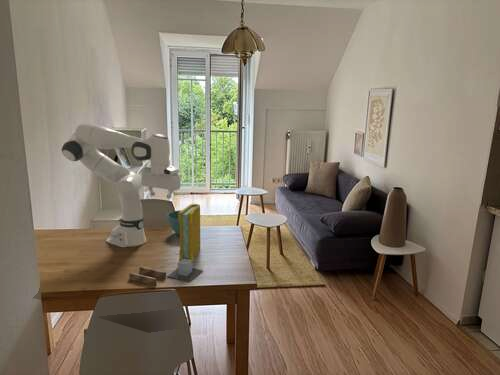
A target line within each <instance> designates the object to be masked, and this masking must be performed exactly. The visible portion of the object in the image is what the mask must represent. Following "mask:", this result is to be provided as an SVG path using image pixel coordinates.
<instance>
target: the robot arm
mask: <svg viewBox="0 0 500 375" xmlns="http://www.w3.org/2000/svg"><path fill="white" fill-rule="evenodd" d="M170 147H171V146H170V140H169V138H168V136H166V135H164V134H161V133H153V134H151V135H149V136H148V137H146V138H142V137H138V136H134V135H131V134H126V133H124V132H120V131H118V130H114V129H112V128H109V127H105V126H102V125H100V124H96V123H90V122H88V123H87V122H86V123H85V122H83V123H80V124H78V125H77V127H76V128H75V132H74V133H73V134H72V135H71V136H70V138H68V139H67V141H66V142H64V144H63V145H62V147H61V152H62V154H63V156H64V157H65V158H66V159H68V160H70V161H72V162H78V161H80V163H81V164H82V165H84V166H85V167H86V168H87V169H88V170H89V171H91V172H92V173H94V174H96V175H97V176H99V177H100V178H102V179H103V180H105V181H106V182H110V183H113V184H115V185H116V192H117V195H118V198H119V202H120V208H121V217H120V218H119V219H118V221H117V222H119V224H118V225H116V226H115V227H114V228H113V229H111V232H110V236H109V237H108V238H107V239H106V241H105V242H106V243H109V244H111V245H114V246H117V247H120V248H127V247H138V246H141V245H144V244H145V243H147V237H146V234H145V230H144V225H145V223H144V216H143V204H142V201H141V196H140V190H141V188H143V187H147V189H148V191H149V194H150V195H149V196H150V197H155V195H156V192H155V191H154V190H153V189H154V188H156V189H161V190H162V189H163V190H168V194H166V198H167V199H169V200H170V199H171V198H172V195H173V193H174V191H179V190H181V185H182V184H181V176H180V174H179V173H180V169H179V168H177V167H176V166H173V164H170V163H171V162H170V154H171V153H170V152H171V151H170V149H171V148H170ZM122 148H124V149H125V148H126V149H127V148H129V149H131V150H130V151H131V154H132V157H133V159H135V160H137V161H139V162H143V161H148V160H149V161H150V166H149V167H147V166H144V167H143V168H142V170H141V174H140V173H138V172H135V171H133V170H131V169H129V168H127V167H125V166H124V165H121V164H119V163H118V162H116V161H115V160H113V159H111V158H110V157H109V156H107V155H105V154H104V153H102V152H101V151H99V150H113V149H122ZM98 149H99V150H98Z"/></svg>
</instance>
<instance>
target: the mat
mask: <svg viewBox="0 0 500 375" xmlns="http://www.w3.org/2000/svg"><path fill="white" fill-rule="evenodd" d="M203 272H204V270H202V269H198V268H193V267H192V272H191V273H190V274H189V275H188V276H183V275H178V268H176V269H175V270H173V271H172V272H171V273H169V274H168V275H166V278H170V279H175V280H178V281H183V282H187V283H191V282H192V281H193V280H195V279H196V278H197V277H198V276H199V275H201V274H202V273H203Z"/></svg>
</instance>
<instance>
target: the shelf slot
mask: <svg viewBox="0 0 500 375" xmlns="http://www.w3.org/2000/svg"><path fill="white" fill-rule="evenodd" d="M138 268H139V274H138V273H135V272H129V273H128V275H129V276H128V277H129V280H132V281H135V282H139V283H143V284H147V285H151V286H155V287H156V286H157V285H158V284H157V278H160V279H164V280H165V279H166V278H167V271H163V270H158V269H155V268H150V267H146V266H141V265H140V266H139V267H138ZM155 277H156V278H155Z"/></svg>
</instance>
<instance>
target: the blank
mask: <svg viewBox="0 0 500 375" xmlns="http://www.w3.org/2000/svg"><path fill="white" fill-rule="evenodd" d="M192 268H193V260H189V259H188V258H184V259H180V260H179V261H178V262H177V269H178V275H183V276H188V275H189V274H190V273H191V272H192Z"/></svg>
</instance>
